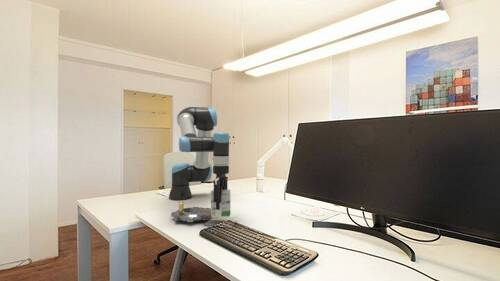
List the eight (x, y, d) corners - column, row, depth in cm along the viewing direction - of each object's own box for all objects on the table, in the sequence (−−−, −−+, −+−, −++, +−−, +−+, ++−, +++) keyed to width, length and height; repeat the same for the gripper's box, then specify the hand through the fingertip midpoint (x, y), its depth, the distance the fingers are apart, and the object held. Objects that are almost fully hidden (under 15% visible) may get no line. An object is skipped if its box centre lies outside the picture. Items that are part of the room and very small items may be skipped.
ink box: (230, 214, 122) (231, 189, 122) (229, 217, 117) (229, 191, 117) (213, 213, 123) (213, 188, 123) (210, 216, 118) (210, 190, 118)
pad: (211, 220, 126) (211, 218, 126) (236, 222, 123) (236, 220, 123) (203, 226, 117) (203, 224, 117) (230, 228, 114) (230, 226, 114)
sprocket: (162, 216, 126) (162, 200, 126) (196, 208, 142) (196, 193, 142) (188, 225, 113) (188, 207, 113) (223, 215, 129) (223, 199, 129)
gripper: (220, 163, 130) (220, 209, 130) (205, 166, 112) (205, 219, 112) (234, 163, 128) (234, 210, 128) (221, 167, 110) (221, 221, 110)
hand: (220, 214), depth 120 cm, fingers closed on ink box, 5 cm apart
